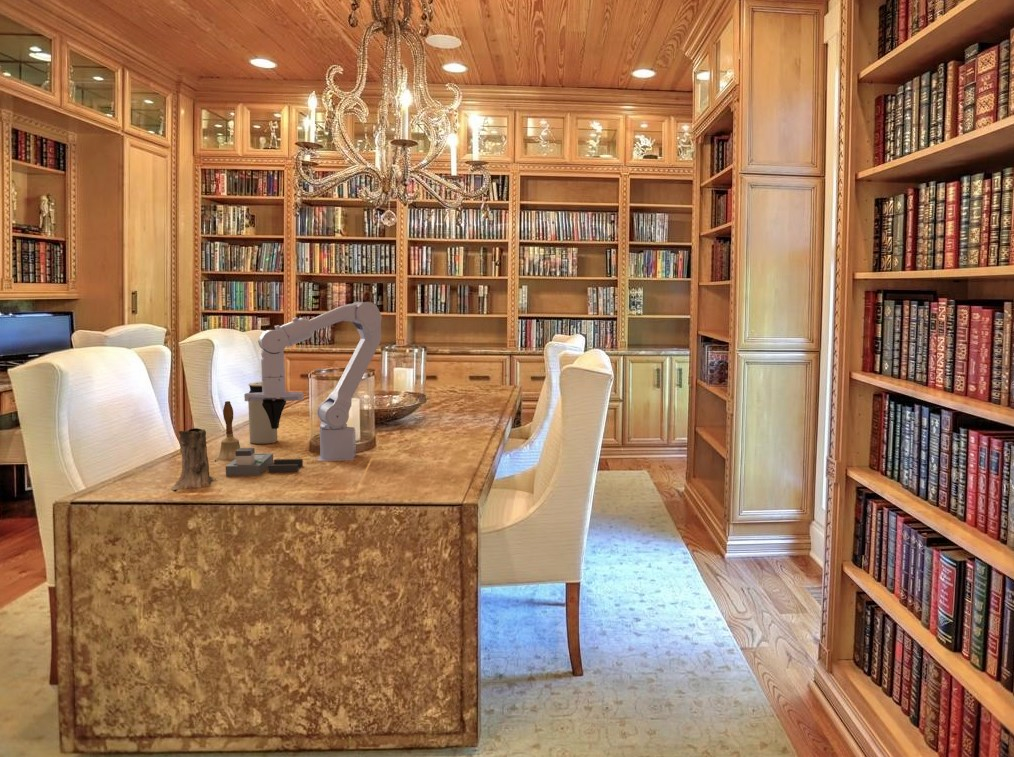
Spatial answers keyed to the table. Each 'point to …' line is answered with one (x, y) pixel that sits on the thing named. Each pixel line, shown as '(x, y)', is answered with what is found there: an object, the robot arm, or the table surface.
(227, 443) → the hand bell
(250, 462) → the plug
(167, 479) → the table surface
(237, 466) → the port panel
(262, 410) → the travel mug
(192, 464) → the tree stump
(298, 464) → the dark grey bracket
